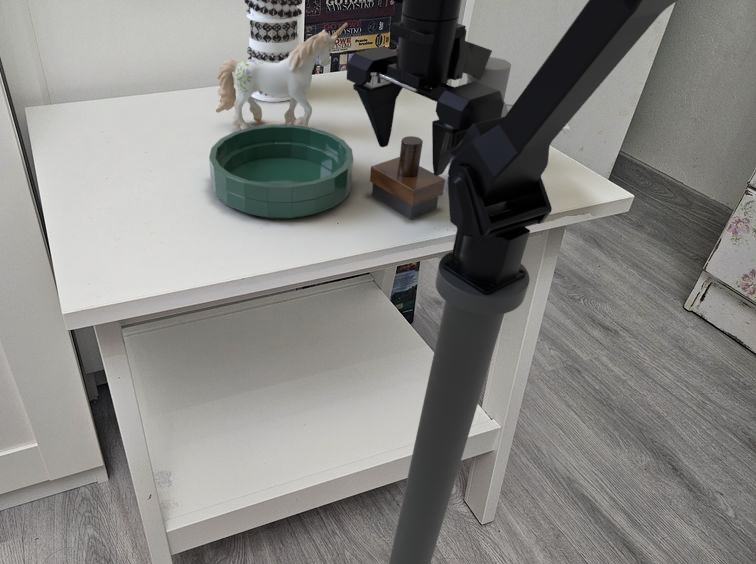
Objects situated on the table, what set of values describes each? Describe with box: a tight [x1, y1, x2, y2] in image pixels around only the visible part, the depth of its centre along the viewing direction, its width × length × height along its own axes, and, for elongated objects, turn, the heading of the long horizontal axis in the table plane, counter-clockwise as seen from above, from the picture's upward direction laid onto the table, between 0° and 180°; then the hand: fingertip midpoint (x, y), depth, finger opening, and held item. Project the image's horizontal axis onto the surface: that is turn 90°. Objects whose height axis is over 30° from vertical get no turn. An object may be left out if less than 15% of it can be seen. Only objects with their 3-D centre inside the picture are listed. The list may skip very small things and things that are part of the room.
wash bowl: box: [208, 124, 354, 219], centre depth 80 cm, size 18×18×4 cm
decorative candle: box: [244, 0, 303, 103], centre depth 98 cm, size 9×9×25 cm
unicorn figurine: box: [215, 22, 349, 130], centre depth 91 cm, size 7×20×13 cm, turn 99°
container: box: [450, 56, 512, 163], centre depth 77 cm, size 5×5×15 cm
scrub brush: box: [369, 135, 446, 220], centre depth 76 cm, size 8×5×8 cm, turn 36°
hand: (410, 159), depth 75 cm, fingers open, 9 cm apart
